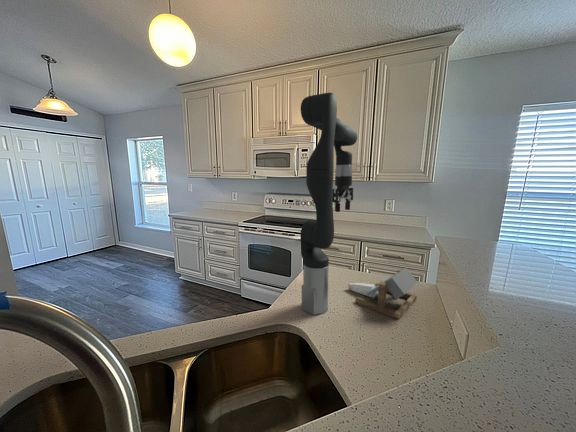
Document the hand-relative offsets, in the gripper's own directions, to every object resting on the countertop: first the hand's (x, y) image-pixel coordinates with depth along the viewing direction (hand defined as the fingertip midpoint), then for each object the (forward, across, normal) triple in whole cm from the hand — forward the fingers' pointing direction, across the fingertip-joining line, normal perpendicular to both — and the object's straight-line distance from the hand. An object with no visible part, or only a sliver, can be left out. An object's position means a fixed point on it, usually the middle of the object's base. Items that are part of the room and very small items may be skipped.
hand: (342, 210), depth 114 cm
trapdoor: (+29, +7, +29) cm, 42 cm away
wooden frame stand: (+33, +7, +25) cm, 42 cm away
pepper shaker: (+30, +8, +20) cm, 37 cm away
